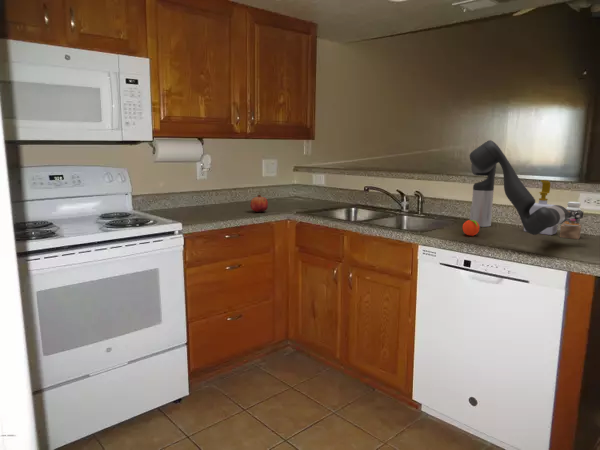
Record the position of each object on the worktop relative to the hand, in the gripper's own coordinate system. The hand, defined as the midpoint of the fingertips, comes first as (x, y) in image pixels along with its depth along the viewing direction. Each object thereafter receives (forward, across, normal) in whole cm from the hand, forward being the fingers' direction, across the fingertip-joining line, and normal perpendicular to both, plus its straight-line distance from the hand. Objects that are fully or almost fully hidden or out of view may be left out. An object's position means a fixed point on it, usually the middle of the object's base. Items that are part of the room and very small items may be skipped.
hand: (566, 211), depth 182 cm
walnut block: (+9, 0, +12) cm, 15 cm away
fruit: (-43, +145, +12) cm, 152 cm away
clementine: (-19, +31, +12) cm, 38 cm away
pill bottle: (+9, 0, +7) cm, 12 cm away
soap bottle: (+10, +12, +12) cm, 20 cm away
